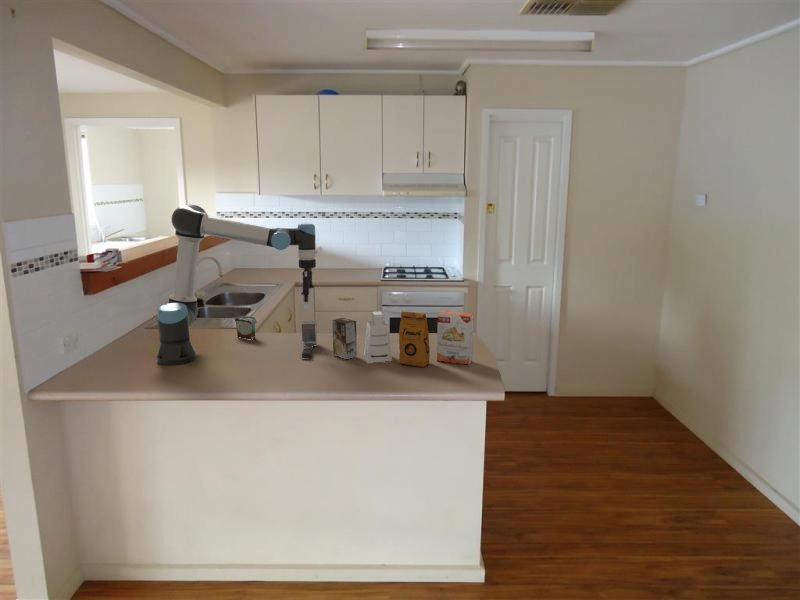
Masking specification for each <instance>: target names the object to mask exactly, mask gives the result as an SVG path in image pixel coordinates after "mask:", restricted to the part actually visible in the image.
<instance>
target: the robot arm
mask: <svg viewBox="0 0 800 600" xmlns="http://www.w3.org/2000/svg"><path fill="white" fill-rule="evenodd" d="M171 224H172V227H173V228H174V229H175V237H176V238H177V239H178V242H177V243H178V244H177V251H176V252H177V253H176V261H175V273H174V284H173V293H171V294H170V295H169V296H168V303H165V304H163V305H160V306H159V307H158V309H157V313H156V314H157V315H156V318H157V325H158V336H159V348H158V351H157V356H156V362H157V364H160V365H161V366H163V365H164V366H177V365H183V364H188V363H191V362H193V361H195V359H196V357H197V356H196V351H195V349H194V347H193V345H192V341H191V340H190V339H191V338H190V326H191V325H192V324H193V323H195V321H196V320H197V317H198V314H199V308H198V298H197V296H196V295H195V291H196V289H195V288H196V282H197V281H196V280H197V272H198V260H199V252H200V243H201V241H203V240H204V238H205V235H207V236H211V237H218V238H222V239H223V238H224V239H227V240H234V241H237V242H238V241H239V242H244V243H249V244H255V245H259V246H263V247H264V246H266V247H269V248H274V249H276V250H278V251H280V250H281V251H283V250H284V251H285V249H287V248H289V246H298V247H297V248H298V251H297V252H298V254H297V255H298V268H299V269H303V270H302V292H301V295H302V308H303V310H310V309H311V307H310V303H313V289H314V287H315V286H314V283H313V271H312V269H314V268H316V266H317V263H316V262H317V260H316V257H317V253H318V252H317V251H316V226H315V224H313V223H299V224H297V227H295V228H288V227H283V228H282V227H281V228H280V227H276V228H272V227H270V228H269V227H265V226H261V225H255V224H249V223H245V222H240V221H235V220H230V219H225V218H220V217H214V216H210V215H208V213H207V212H206V211H205V209H204V208H202V207H201V206H200V205H196V204H186V205H181V206H179V207H177V208H176V209H175V210H174V211H173V212H172V215H171Z"/></svg>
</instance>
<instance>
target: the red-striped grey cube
mask: <svg viewBox="0 0 800 600" xmlns="http://www.w3.org/2000/svg"><path fill="white" fill-rule="evenodd" d="M317 325H318V324H317V320H303V321H302V323H301V337H302V340H301V342H303V341H316V339H317V338H318V335H317V334H318V333H317V331H318V330H317Z"/></svg>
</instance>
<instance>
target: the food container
mask: <svg viewBox="0 0 800 600" xmlns="http://www.w3.org/2000/svg"><path fill="white" fill-rule="evenodd" d="M234 322H235V328H236V334H237V338H238V337H241V338H246V339H251V340H252V339H254V338H255V339H256V324H257V323H258V322H257V319H256V317H254V316H251V315H250V316H248V315H244V316H236V317H234ZM241 338H240V339H241ZM246 339H245V340H246ZM255 339H254V340H255ZM252 341H253V340H252Z"/></svg>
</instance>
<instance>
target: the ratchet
mask: <svg viewBox="0 0 800 600" xmlns="http://www.w3.org/2000/svg"><path fill="white" fill-rule="evenodd" d="M302 342H303V346H304V345H305V347H304V348H302V349H303V350H302V352H301V359H302V358H310V359H311V357H310V355H311V356H312V351H311V349H312V350H313V348H312V346H314V345H316V344H317V345H318V343H317V342H318V340H317V339H316V341H302Z"/></svg>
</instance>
